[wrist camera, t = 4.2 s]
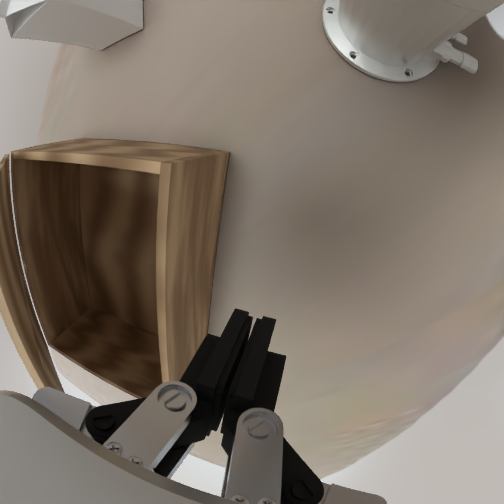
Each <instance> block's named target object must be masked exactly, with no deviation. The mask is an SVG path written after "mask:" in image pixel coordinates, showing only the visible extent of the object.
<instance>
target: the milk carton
mask: <svg viewBox="0 0 504 504" xmlns="http://www.w3.org/2000/svg"><path fill="white" fill-rule="evenodd" d="M0 17H5V19H6V23H7V26H8V30H9V33H10V36H11V38H20V39H32V40H42V41H50V42H58V43H64V44H70V45H76V46H82V47H87V48H91V49H96V50H103V49H104V48H106V47H108V46H110V45H112V44H114V43H115V42H117V41H119V40H121V39H123V38H125V37H127V36H129V35H131V34H133V33H135V32H137V31H140V30H142V29H143V0H1V1H0Z"/></svg>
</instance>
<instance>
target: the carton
mask: <svg viewBox="0 0 504 504" xmlns="http://www.w3.org/2000/svg"><path fill="white" fill-rule="evenodd" d="M229 156H230V152H226V151H220V150H213V149H206V148H199V147H191V146H183V145H174V144H165V143H155V142H143V141H129V140H112V139H75V140H68V141H61V142H55V143H50V144H44V145H39V146H34V147H29V148H25V149H20V150H16V151H12V152H11V175H12V192H13V204H14V213H15V221H16V227H17V234H18V240H19V246H20V251H21V256H22V260H23V265H24V269H25V274H26V277H27V281H28V285H29V289H30V293H31V296H32V299H33V302H34V306H35V309H36V312H37V315H38V318H39V321H40V323H41V327H42V329H43V332H44V335H45V337H46V340H47V343H48V345H49V346H50V347H52V348H53V349H55V350H56V351H58V352H59V353H60V354H62V355H63V356H65V357H66V358H68V359H69V360H71V361H72V362H74V363H76V364H77V365H79V366H80V367H82V368H83V369H85V370H87V371H88V372H90V373H92V374H93V375H95V376H97V377H99V378H100V379H102V380H104V381H106V382H107V383H109V384H111V385H113V386H115V387H117V388H118V389H120V390H122V391H124V392H126V393H128V394H130V395H132V396H134V397H136V398H138V399H140V398H145V397H148V396H149V395H150V394H151V393H152V392H153V391H154V390H155V389H156V387H158V386H159V385H160V384H162V383H165V382H168V381H180V379H181V377H182V376H183V374H184V372H185V371H186V369H187V367H188V365H189V364H190V362H191V360H192V359H193V357H194V355H195V353H196V352H197V350H198V348H199V347H200V345H201V343H202V341H203V340H204V338H205V337H206V335H207V334H208V324H209V314H210V304H211V294H212V285H213V276H214V267H215V259H216V250H217V242H218V234H219V226H220V219H221V211H222V204H223V197H224V190H225V183H226V176H227V169H228V162H229Z"/></svg>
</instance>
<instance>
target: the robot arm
mask: <svg viewBox="0 0 504 504" xmlns="http://www.w3.org/2000/svg"><path fill="white" fill-rule="evenodd" d="M503 3H504V0H325V2H324V5H323V11H322V23H323V27H324V31H325V34H326V36H327V38H328V40H329V42H330V43H331V45H332V46H333V47H334V49H335V50H336V52H337V53H338V54H339V55H340V56H341V57H342V58H343V59H344V60H345V61H347V62H348V63H349V64H351V65H352V66H353V67H355V68H356V69H358V70H360V71H362V72H363V73H365V74H367V75H370V76H372V77H375V78H377V79H381V80H385V81H389V82H401V83H402V82H411V81H415V80H418V79H421V78H423V77H424V76H426V75H428V74H429V73H431V72H432V71H433V70H434V69H435V68H436V66H437V65H438V64H439V62H440V61H442V62H444V63H447V62H448V61H450V62H452V63H454V64H456V65H457V66H458V67H460V68H462V69H464V70H466V71H467V72H469V73H471V74H475V73H476V71H477V69H478V60H477V59H476V58H474V57H472V56H471V55H469V54H467V53H465V52H464V51H460V50H458V49H456V48H454V47H453V46H452V44H451V42H449V41H448V40H449V39H451V40H452V41H454V42H455V43H457V44H459V45H461V46H463V47H465V46H466V44H467V37H466V36H465V35H463V34H461V33H460V31H462V30H463V29H465V28H466V27H468V26H469V25H471V24H472V23H474V22H475V21H477V20H478V19H480V18H481V17H483V16H484V15H486V14H487V13H489V12H491V11H492V10H494V9H495V8H496V7H498V6H500V5H501V4H503ZM329 12H331V13H333V14H330V13H329ZM350 56H355V59H352V58H351V57H350ZM405 72H406V73H408V76H407V75H406V74H405ZM248 315H249V312H247V311H243V310H240V309H235V310H234V312H233V314H232V315H231V317H230V319H229V321H228V323H227V325H226V327H225V329H224V331H223V333H222V335H221V337H217V336H214V335H211V334H207V335H206V337H205V338H204V340H203V341H202V343H201V345H200V347H199V348H198V350H197V352H196V353H195V355H194V357H193V359H192V360H191V362H190V364H189V365H188V367H187V369H186V371H185V372H184V374H183V376H182V377H181V379H180V381H168V382H165V383H162V384H160V385H159V386H158V387H156V389H155V390H154V391H153V392H152V393H151V394H150V395H149V396H148V397H145V398H140V399H135V400H130V401H125V402H120V403H114V404H109V405H103V406H98V407H95V406H92V405H91V403H89V402H86V401H83V400H81V399H78V398H76V397H73V396H70V395H68V394H65V393H63V392H61V391H58V390H56V389H53V388H50V387H43V388H41V389H39V390H37V392H36V393H35V394H34V396H33V398H32V399H31V398H29V397H27V396H25V395H22V394H20V393H16V392H13V391H5V390H3V391H0V504H387V502H386V500H385V499H384V498H383V497H381V496H378V495H374V494H370V493H365V492H361V491H357V490H353V489H349V488H346V487H342V486H339V485H335V484H331V485H329V484H326V483H323V482H321V481H320V479H319V478H318V477H317V476H316V475H315V474H314V472H313V471H312V470H311V469H310V468H309V467H308V466H307V464H306V463H305V462H304V461H303V460H302V459H301V457H300V456H299V455H298V454H297V453H296V452H295V450H294V449H293V448H292V447H291V446H290V444H289V443H288V442H287V441H286V439H285V438H284V437H283V423H282V421H281V419H280V417H279V416H278V415H277V414H276V413H274V409H275V405H276V401H277V396H278V392H279V388H280V383H281V379H282V374H283V370H284V365H285V360H286V356H285V355H281V354H277V353H273V352H269V351H268V347H269V344H270V340H271V337H272V333H273V330H274V326H275V323H276V319H273V318H269V317H265V316H263V318H262V319H259V318H257V319H256V322H255V324H254V327H253V330H252V332H251V335H250V337H249V334H250V329H251V325H252V320H253V317H251V316H248ZM248 338H249V340H248ZM223 414H224V416H223ZM222 417H223V422H222V427H221V433H223V439H222V443H221V445H222V447H223V449H224V450H225V452H226V453H227V455H228V457H227V463H226V469H225V476H224V481H223V488H222V493H221V497H219V496H216V495H212V494H209V493H206V492H203V491H200V490H197V489H194V488H191V487H189V486H186V485H183V484H181V483H178V482H176V481H173V480H171V479H170V478H171V477H172V475H173V474H174V473H175V471H176V470H177V468H178V467H179V466H180V465H181V463H182V462H183V460H184V459H185V457H186V456H187V455H188V453H189V452H190V450H191V449H192V448H193V446H194V444H195V442H198V441H201V440H204V439H205V437H206V435H207V436H209V435H210V432H211V430H214V431H217V429H218V427H219V424H220V422H221V419H222Z"/></svg>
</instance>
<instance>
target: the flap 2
mask: <svg viewBox="0 0 504 504" xmlns="http://www.w3.org/2000/svg"><path fill="white" fill-rule="evenodd" d="M22 274H23V281H24V288H25V295H26V300H27V306H28V311H29V316H30V321H31V325H32V329H33V334H34V338H35V341H36V345H37V349H38V352H39V356H40V359H41V362H42V366H43V369H44V372H45V375H46V378H47V381H48V383H49V386H50V388H53V389H56V390H58V391H61V392H63V393H65V392H64V390H63V388H62V385H61V383H60V381H59V378H58V375H57V373H56V370H55V367H54V365H53V362H52V359H51V356H50V353H49V350H48V347H47V344H46V342H45V339H44V337H43V334H42V331H41V329H40V326H39V324H38V320H37V317H36V315H35V311H34V309H33V305H32V302H31V299H30V295H29V292H28V288H27V285H26V281H25V277H24V273H23V269H22Z"/></svg>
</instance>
